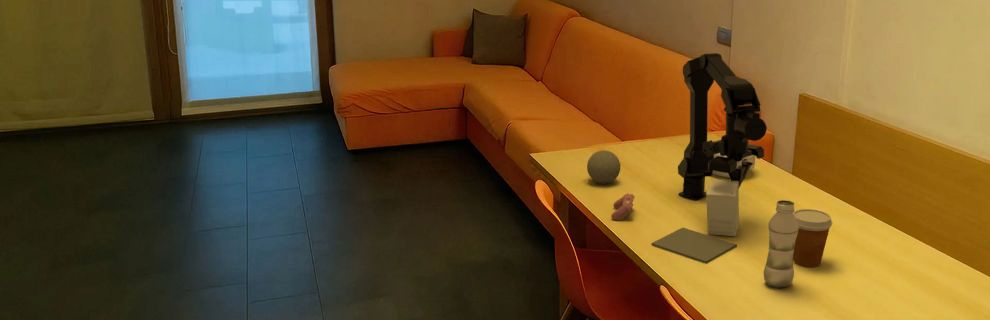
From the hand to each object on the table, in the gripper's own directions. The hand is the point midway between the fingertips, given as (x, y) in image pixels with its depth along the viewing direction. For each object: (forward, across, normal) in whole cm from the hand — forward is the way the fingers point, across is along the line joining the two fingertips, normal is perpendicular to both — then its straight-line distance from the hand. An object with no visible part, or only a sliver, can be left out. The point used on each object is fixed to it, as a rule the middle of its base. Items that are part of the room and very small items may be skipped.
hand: (736, 189), depth 234 cm
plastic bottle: (+13, +23, +23) cm, 35 cm away
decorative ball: (+8, -6, -48) cm, 49 cm away
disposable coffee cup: (+12, +7, +23) cm, 27 cm away
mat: (+11, +16, -2) cm, 20 cm away
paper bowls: (+9, -39, -24) cm, 46 cm away
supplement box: (+10, +3, -2) cm, 11 cm away
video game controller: (+10, +11, -28) cm, 32 cm away
